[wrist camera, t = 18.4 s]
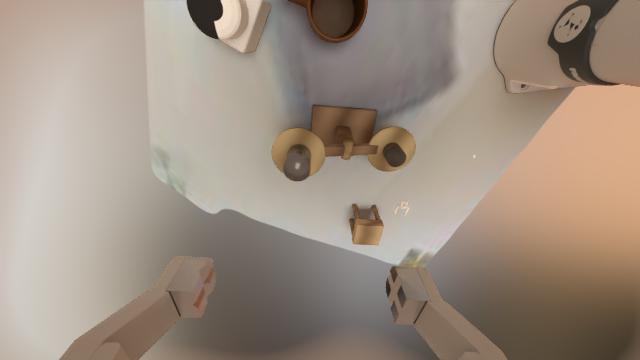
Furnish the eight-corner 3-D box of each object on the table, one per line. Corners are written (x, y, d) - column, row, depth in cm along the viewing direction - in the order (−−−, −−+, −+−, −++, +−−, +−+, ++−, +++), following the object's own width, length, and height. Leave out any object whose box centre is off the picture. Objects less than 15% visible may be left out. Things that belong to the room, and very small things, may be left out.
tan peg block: (376, 204, 56) (383, 226, 49) (371, 222, 59) (378, 245, 52) (352, 203, 55) (357, 225, 49) (349, 221, 58) (353, 244, 52)
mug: (276, 23, 36) (264, 19, 28) (286, -39, 32) (276, -64, 24) (347, 48, 38) (355, 51, 30) (365, -8, 34) (379, -22, 26)
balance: (405, 112, 44) (434, 136, 33) (393, 154, 48) (415, 187, 38) (282, 101, 43) (270, 123, 32) (282, 146, 47) (272, 178, 36)
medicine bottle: (212, 26, 36) (171, 22, 26) (226, -25, 33) (186, -54, 23) (255, 52, 38) (232, 56, 28) (272, 5, 35) (253, -8, 25)
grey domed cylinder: (311, 144, 33) (311, 158, 30) (310, 166, 35) (309, 182, 32) (287, 143, 33) (283, 156, 29) (286, 164, 35) (283, 180, 31)
